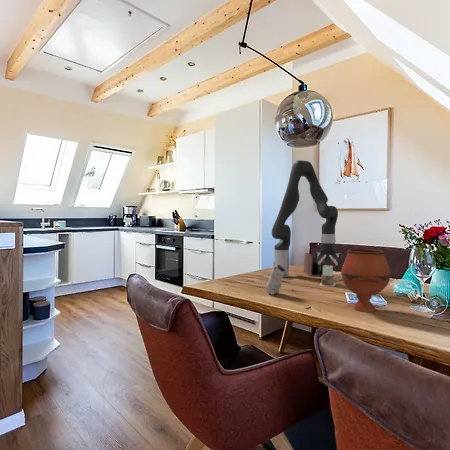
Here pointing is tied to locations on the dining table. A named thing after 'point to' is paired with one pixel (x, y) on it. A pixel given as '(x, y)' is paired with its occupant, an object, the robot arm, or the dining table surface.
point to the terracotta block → (337, 277)
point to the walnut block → (327, 280)
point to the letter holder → (312, 266)
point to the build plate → (327, 285)
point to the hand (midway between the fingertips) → (327, 271)
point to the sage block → (327, 270)
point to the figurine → (275, 280)
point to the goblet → (365, 275)
